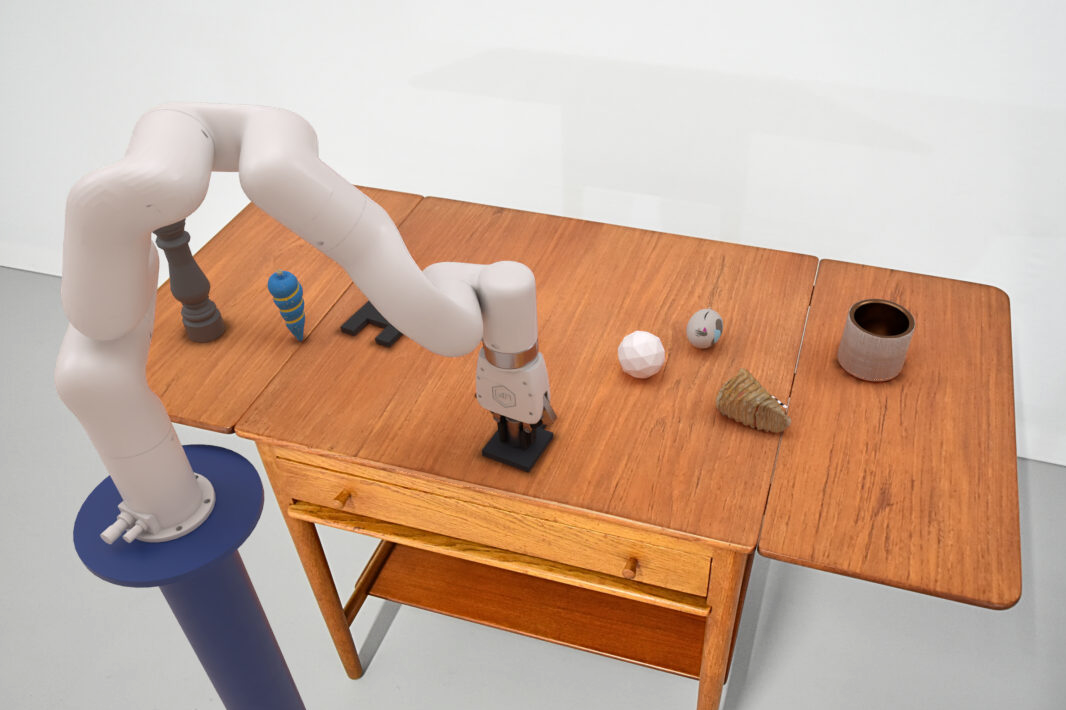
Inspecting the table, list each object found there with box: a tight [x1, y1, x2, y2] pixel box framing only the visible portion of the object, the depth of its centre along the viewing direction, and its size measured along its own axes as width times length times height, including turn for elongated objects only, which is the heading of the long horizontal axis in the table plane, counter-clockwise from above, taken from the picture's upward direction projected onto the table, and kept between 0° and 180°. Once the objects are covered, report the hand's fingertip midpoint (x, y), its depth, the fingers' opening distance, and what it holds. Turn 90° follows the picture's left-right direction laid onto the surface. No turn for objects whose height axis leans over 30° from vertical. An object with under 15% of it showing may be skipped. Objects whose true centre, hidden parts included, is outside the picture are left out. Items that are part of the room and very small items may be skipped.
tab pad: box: [481, 417, 554, 473], centre depth 135 cm, size 12×8×7 cm
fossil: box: [715, 367, 792, 433], centre depth 141 cm, size 12×6×9 cm
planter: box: [837, 298, 917, 382], centre depth 149 cm, size 11×11×10 cm
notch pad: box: [339, 300, 404, 349], centre depth 157 cm, size 10×10×1 cm
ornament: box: [267, 269, 306, 342], centre depth 149 cm, size 5×5×15 cm
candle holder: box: [151, 218, 226, 344], centre depth 147 cm, size 6×6×25 cm
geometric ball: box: [617, 330, 666, 379], centre depth 147 cm, size 8×8×8 cm
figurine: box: [685, 306, 724, 349], centre depth 152 cm, size 8×6×7 cm
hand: (517, 439), depth 135 cm, fingers closed on tab pad, 3 cm apart
